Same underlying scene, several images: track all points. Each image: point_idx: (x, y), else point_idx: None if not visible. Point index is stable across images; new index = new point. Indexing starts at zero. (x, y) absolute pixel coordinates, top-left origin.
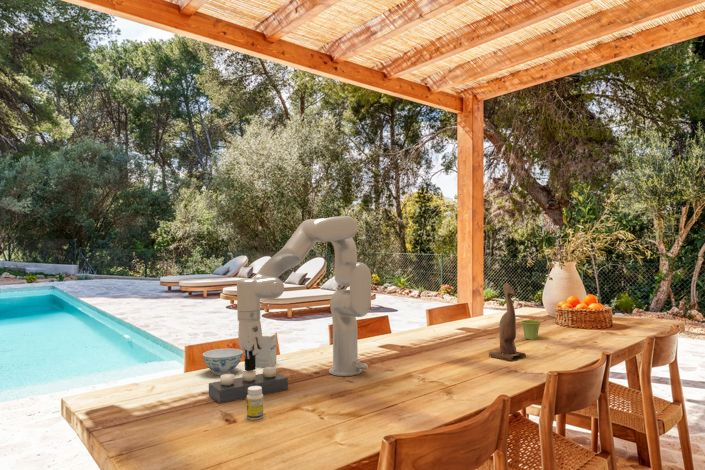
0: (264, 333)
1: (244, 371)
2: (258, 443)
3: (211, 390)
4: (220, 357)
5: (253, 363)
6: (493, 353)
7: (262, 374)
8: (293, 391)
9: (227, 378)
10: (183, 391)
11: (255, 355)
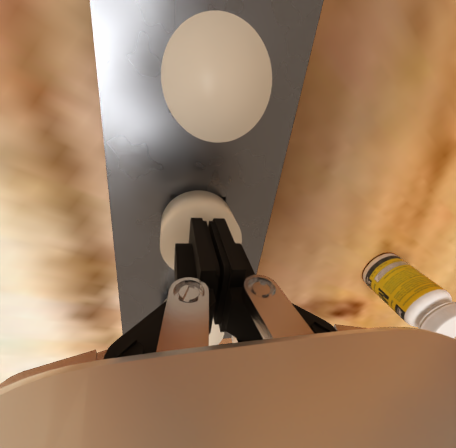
0: None
1: (173, 259)
2: (453, 301)
3: None
4: None
5: (246, 263)
6: None
7: (124, 91)
8: (332, 19)
9: (219, 337)
10: (27, 357)
11: (285, 300)
